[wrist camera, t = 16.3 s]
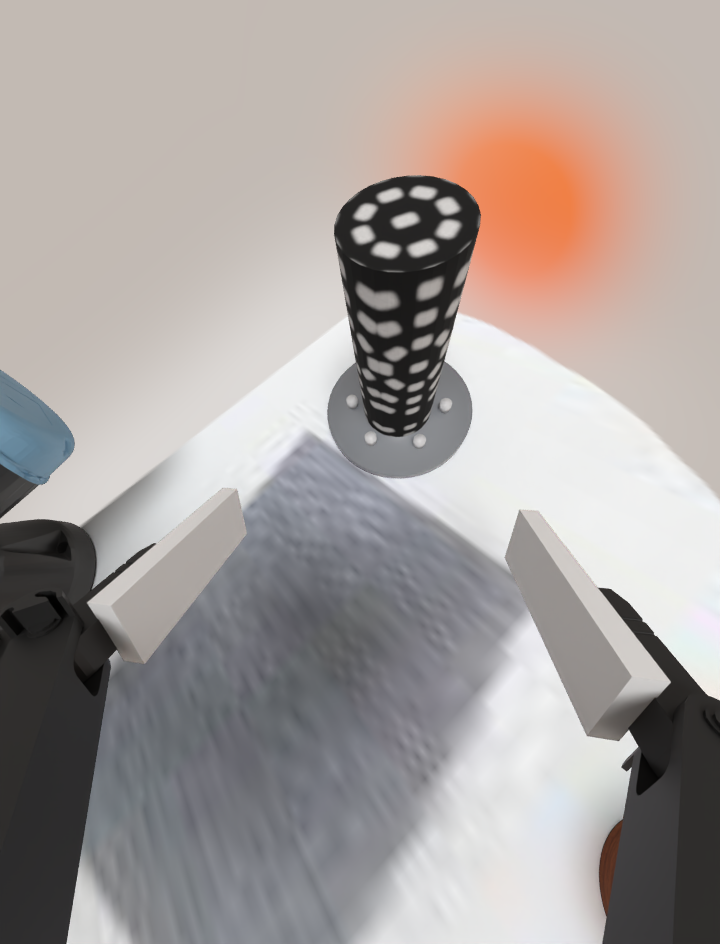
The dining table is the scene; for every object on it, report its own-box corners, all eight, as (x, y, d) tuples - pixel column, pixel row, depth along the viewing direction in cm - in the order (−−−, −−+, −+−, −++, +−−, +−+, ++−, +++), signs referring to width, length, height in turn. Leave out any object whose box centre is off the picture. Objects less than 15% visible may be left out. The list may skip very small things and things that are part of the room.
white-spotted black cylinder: (416, 371, 36) (443, 160, 17) (441, 424, 33) (508, 241, 15) (356, 391, 36) (318, 202, 17) (376, 446, 33) (358, 292, 15)
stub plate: (320, 472, 35) (314, 465, 32) (339, 355, 40) (336, 341, 38) (469, 484, 32) (476, 477, 30) (468, 357, 38) (474, 342, 35)
